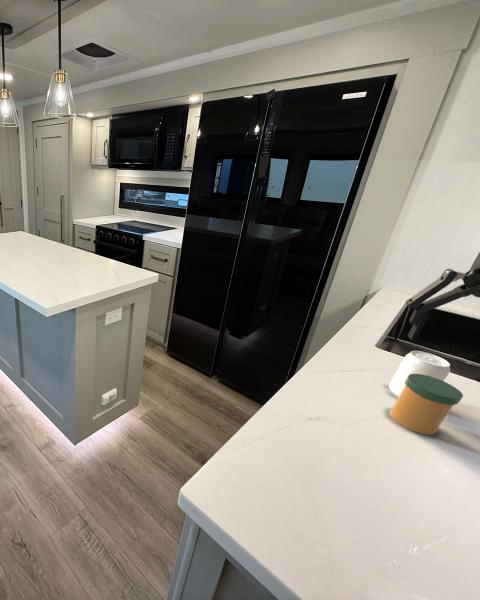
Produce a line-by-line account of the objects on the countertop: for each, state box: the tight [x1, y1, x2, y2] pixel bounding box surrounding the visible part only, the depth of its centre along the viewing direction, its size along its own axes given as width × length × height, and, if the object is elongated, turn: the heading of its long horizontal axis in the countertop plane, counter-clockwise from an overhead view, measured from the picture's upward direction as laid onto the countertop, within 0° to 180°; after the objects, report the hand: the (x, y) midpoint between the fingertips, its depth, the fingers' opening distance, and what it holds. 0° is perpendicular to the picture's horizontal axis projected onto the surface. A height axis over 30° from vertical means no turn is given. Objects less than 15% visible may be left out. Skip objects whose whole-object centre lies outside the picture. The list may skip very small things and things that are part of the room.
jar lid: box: [405, 374, 464, 406], centre depth 71 cm, size 9×9×2 cm
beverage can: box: [388, 350, 451, 397], centre depth 82 cm, size 8×8×12 cm
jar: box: [389, 385, 455, 436], centre depth 73 cm, size 8×8×10 cm
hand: (453, 347), depth 67 cm, fingers open, 13 cm apart
